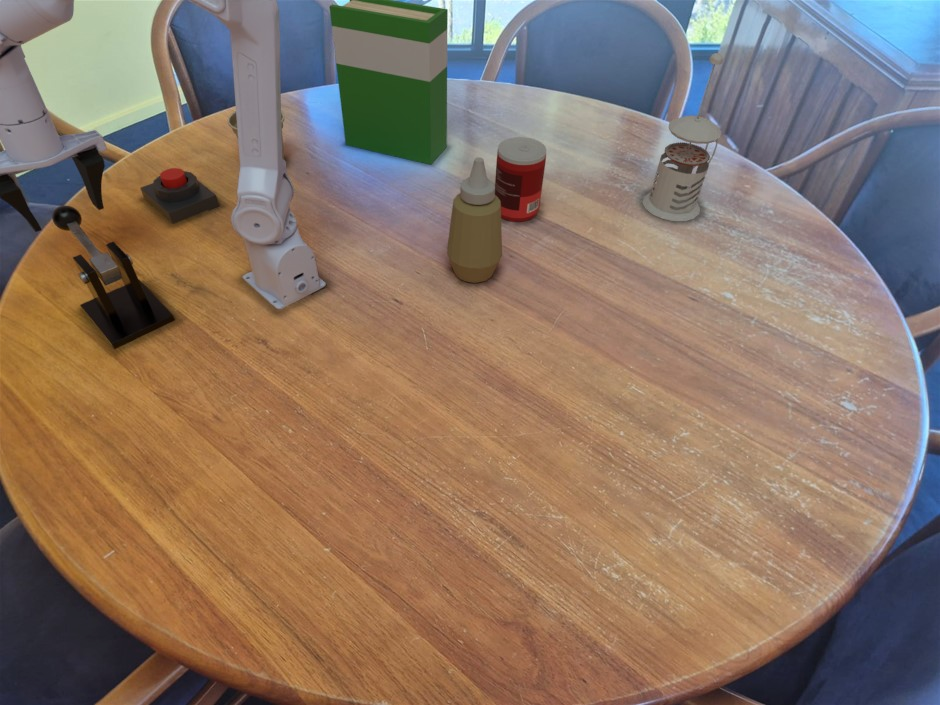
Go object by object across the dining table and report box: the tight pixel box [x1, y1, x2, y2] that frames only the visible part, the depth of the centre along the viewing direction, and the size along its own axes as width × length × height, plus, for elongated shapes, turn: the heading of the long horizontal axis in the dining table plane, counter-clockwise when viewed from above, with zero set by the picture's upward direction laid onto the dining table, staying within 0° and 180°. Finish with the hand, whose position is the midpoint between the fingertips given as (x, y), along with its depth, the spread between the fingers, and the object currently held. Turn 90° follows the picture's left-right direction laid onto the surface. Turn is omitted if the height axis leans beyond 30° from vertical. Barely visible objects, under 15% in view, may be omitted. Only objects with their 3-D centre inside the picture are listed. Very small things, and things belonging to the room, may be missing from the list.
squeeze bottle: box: [446, 156, 503, 283], centre depth 85 cm, size 8×8×18 cm
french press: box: [641, 52, 724, 222], centre depth 98 cm, size 10×12×25 cm
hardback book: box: [329, 0, 449, 165], centre depth 109 cm, size 18×7×24 cm, turn 69°
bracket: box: [72, 241, 176, 350], centre depth 79 cm, size 10×8×10 cm
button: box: [159, 167, 187, 188], centre depth 99 cm, size 4×4×2 cm
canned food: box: [494, 136, 547, 223], centre depth 100 cm, size 8×8×11 cm
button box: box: [140, 170, 220, 225], centre depth 100 cm, size 10×8×4 cm
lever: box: [51, 204, 123, 286], centre depth 78 cm, size 13×3×3 cm, turn 44°
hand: (67, 216), depth 80 cm, fingers open, 7 cm apart
